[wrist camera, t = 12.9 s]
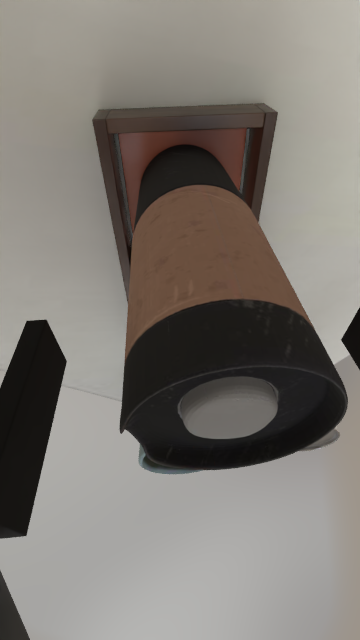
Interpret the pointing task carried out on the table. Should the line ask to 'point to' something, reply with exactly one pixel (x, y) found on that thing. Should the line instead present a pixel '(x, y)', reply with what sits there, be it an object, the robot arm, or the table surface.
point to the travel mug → (216, 329)
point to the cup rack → (180, 129)
